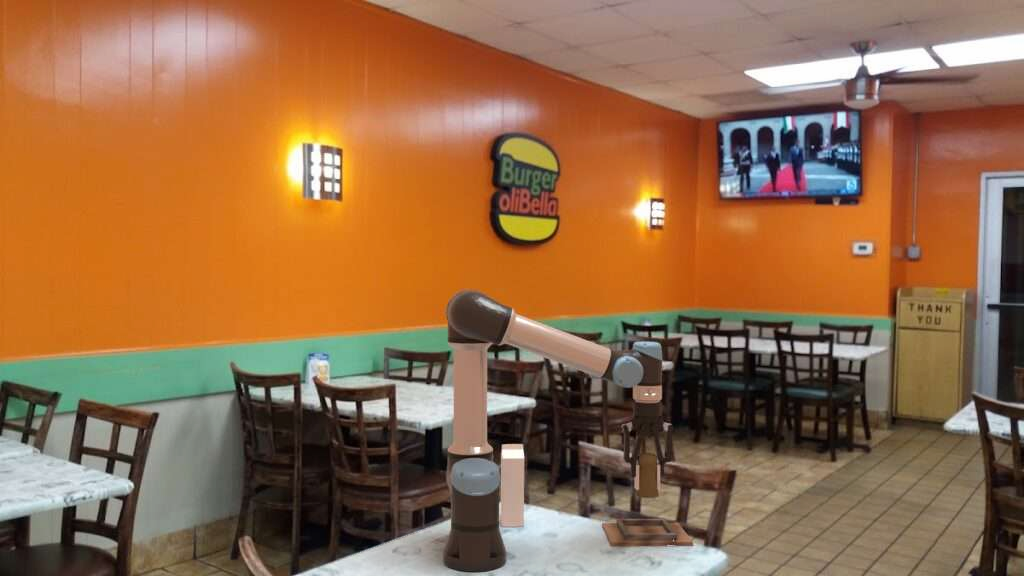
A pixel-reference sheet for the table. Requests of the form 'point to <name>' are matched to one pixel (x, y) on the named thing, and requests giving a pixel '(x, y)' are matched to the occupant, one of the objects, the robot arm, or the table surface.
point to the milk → (512, 485)
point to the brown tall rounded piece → (647, 476)
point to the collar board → (645, 533)
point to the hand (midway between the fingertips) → (647, 488)
